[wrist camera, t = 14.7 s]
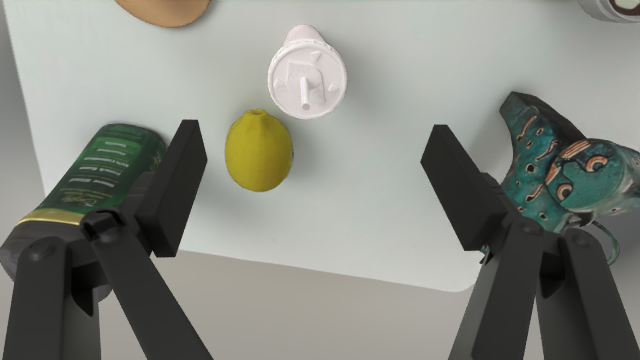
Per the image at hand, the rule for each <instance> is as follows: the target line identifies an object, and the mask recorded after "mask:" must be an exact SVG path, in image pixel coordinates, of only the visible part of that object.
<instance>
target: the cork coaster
mask: <svg viewBox="0 0 640 360" xmlns="http://www.w3.org/2000/svg"><path fill="white" fill-rule="evenodd" d="M115 1H116V2H117V3H118V4H119V5H120V6H121V7H122V8H123V9H125V10H126V11H127V12H129V13H130V14H132V15H133V16H135V17H137V18H139V19H141V20H143V21H145V22H147V23H150V24H153V25H157V26H161V27H179V26H184V25H186V24H189V23H191V22H193V21H194V20H196V19H197V18H198V17H199V16H200V15H201V14H202V13H203V12H204V11H205V10H206V8H207V7H208V5H209V3H210V1H211V0H115Z"/></svg>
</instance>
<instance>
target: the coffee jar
mask: <svg viewBox="0 0 640 360" xmlns="http://www.w3.org/2000/svg"><path fill="white" fill-rule="evenodd" d="M165 153H166V148H165V145H164V143H163V141H162V140H161V139H160V138H159V137H158V136H157V135H155V134H154V133H152V132H150V131H147V130H145V129H143V128H139V127H136V126H131V125H125V124H108V125H106V126H103V127H102V128H101V129H100V130H99V131H98V132H97V133H96V134H95V136H94V137H93V138H92V139H91V141H90V142H89V143H88V145H87V146H86V147H85V149H84V150H83V151H82V153H81V154H80V155H79V157H78V158H77V160H76V161H75V162H74V163H73V165H72V166H71V167H70V169H69V170H68V171H67V172H66V174H65V175H64V176H63V178H62V179H61V180H60V181H59V183H58V184H57V185H56V186H55V188H54V189H53V190H52V191H51V193H50V194H49V195H48V196H47V197H46V199H45V200H44V201H43V202H42V203H41V204H40V205H39V206H38V207H37V208H36V209H35V210H34V211H32V212H31V213H29V214H28V215H27V216H25V217H24V218H23V219H21V220H20V222H18V223H17V225H16V226H15V227H14V229H13V230H12V232H11V233H10V235H9V236H8V238H7V239H6V241H5V242H4V243H3V245H2V246H1V247H0V263H1V264H2V266H3V268H4V270H5V271H6V273H7V274H8V275H9V276H10V278H11V279H12V280H13V282H15V276H16V270H17V263H18V258H19V256H20V254H21V252H22V251H23V250H24V249H25V248H26V247H27V246H28V245H30V244H31V243H33V242H34V241H36V240H39V239H41V238H44V237H49V236H58V237H60V238H62V239H63V240H64V241H65V242H70V241H74V240H78V239H82V238H86V237H85V236H84V235H83V233H82V232H81V231H80V230H79V223H80V221H81V219H82V218H83V217H84V216H85V215H86V214H87V213H89V212H90V211H92V210H94V209H97V208H100V207H103V206H113V207H117V208H119V206H120V204H121V202H122V201H123V199H124V197H126V194H127V192H128V190H130V187H131V185H132V183H133V182H134V180H135V179H136V178H137V177H138V176H140V175H141V174H142V173H143V172H156V171H157V169H158V167H159V165H160V163H161V161H162V159H163V157H164V155H165ZM97 289H98V302H100V301H102V300H103V299H104V298H106V297H107V296H108V295H109V294H110V292H111V291H112V287H111V285H110V283H109V284H106V285H103V286H99V287H97Z"/></svg>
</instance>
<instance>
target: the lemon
mask: <svg viewBox="0 0 640 360" xmlns="http://www.w3.org/2000/svg"><path fill="white" fill-rule="evenodd" d="M293 158H294V153H293V145H292V141H291V138H290V135H289V133H288V131H287V130H286V128H285V127H284V126H283V124H282V123H281V122H279V121H278V120H277V119H276V118H274V117H273V116H270V115H269V114H268V113H267V112H266V111H265V110H263V109H257V110H250V111H246V112H245V113H244V115H243V116H242V117H241V118H239V119H238V120H236V121H235V123H234V124H233V125H232V127H231V128H230V130H229V133H228V135H227V139H226V144H225V162H226V166H227V169H228V172H229V174H230V176H231V177H232V178H233V179H234V181H235V182H236V183H238V184H239V185H240V186H241V187H243V188H245V189H248V190H251V191H254V192H264V191H268V190H271V189H273V188H275V187H277V186H278V185H279V184H280V183H281V182H282V181H283V180H284V179H285V178H286V176H287V175H288V173H289V171H290V168H291V165H292V162H293Z"/></svg>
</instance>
